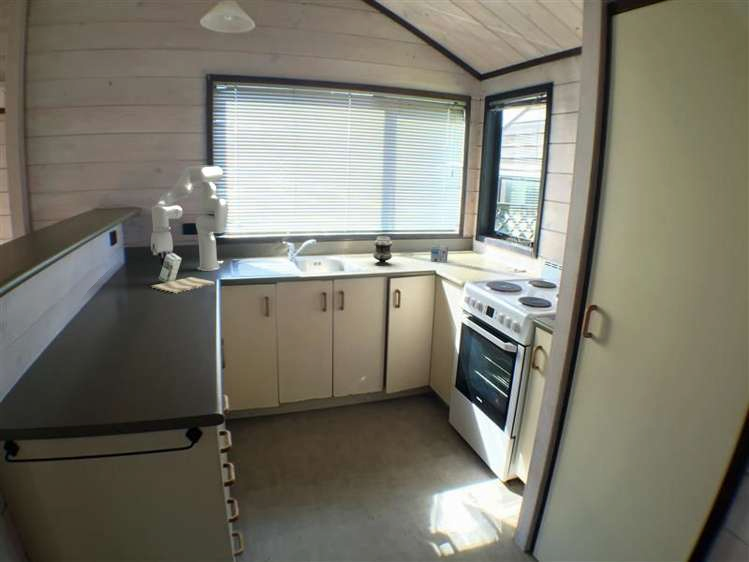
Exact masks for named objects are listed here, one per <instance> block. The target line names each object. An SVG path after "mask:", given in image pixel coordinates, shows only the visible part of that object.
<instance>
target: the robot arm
mask: <svg viewBox="0 0 749 562" xmlns="http://www.w3.org/2000/svg"><path fill="white" fill-rule="evenodd" d="M223 176H224V171H223V169H222V168H221V167H220V166H218V165H206V164H204V165H203V164H201V165H196V166H187V167H186V168H184V169H183V171H182V173H181V175H180V177H179V178H178V180H177V182H176V184H175V185H174V187H171V188H170V189H168V190H166V192H165V193H163V194H162V195H161V196H160V197H159V199H158V200H157V202H156V205H153V206H152V207H151V218H152V230H153V232H152V233H151V236H150V237H151V238H150V249H151V252H152V255H153V256H157V257H158V259H159V262H160V263H159V264H160V266H163V264H164V260H165V257H166V255H168V254H173V250H174V244H173V243H174V241H173V237H172V233H171V232H170V230H171V228H172V227H171V226H170V221H169V220H178V219H180V218H182V216H183V214H184V211H183V209H182V207H181V206H180V205H178V204H173V203H174V202H177V201H179V200H181V199H184V198H187V197H189V196H190V195H191V194H192V192H193V190H194V188H195V186H196V185H197V184H199V185H200V189H201V193H200V205H199V206H200V207H199V209H200V211H201V213H204V214H209V215H200V216H198V217H197V218H196V220H195V227H196V231H197V235H198V236H197V237H198V250H199V266H197V270H198V271H200V270H201V272H212V271H218V270H220V269H221V266H220V265H224V264H223V263H224V260H218V257H217V256H218V255H217V240H216V237H215V235H214V234H222V233H224V232H225V231H226V229H227V223H228V213H229V212H228V211H229V204H228V202H227V200H226V199H224V198H222V197H218V195H217V194H218V189H217V185H216V184H215V182H219V181H221V180H222V178H223ZM210 214H212V215H210Z"/></svg>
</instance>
